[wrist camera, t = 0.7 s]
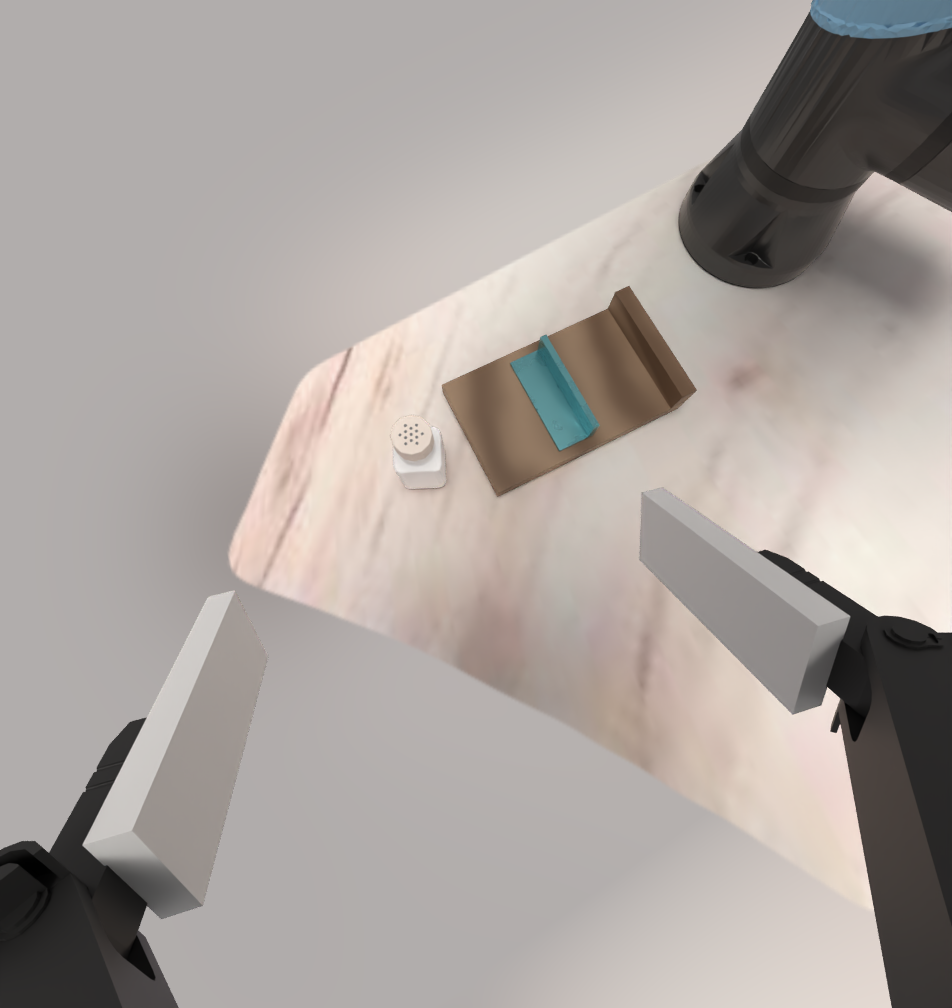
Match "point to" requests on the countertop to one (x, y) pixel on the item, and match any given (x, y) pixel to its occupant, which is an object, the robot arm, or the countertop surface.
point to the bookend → (555, 396)
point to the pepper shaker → (418, 453)
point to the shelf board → (597, 374)
